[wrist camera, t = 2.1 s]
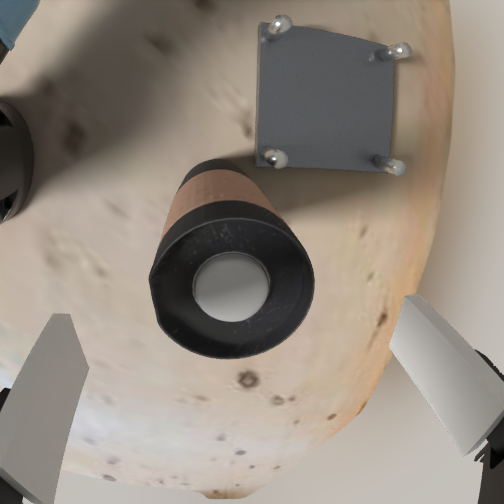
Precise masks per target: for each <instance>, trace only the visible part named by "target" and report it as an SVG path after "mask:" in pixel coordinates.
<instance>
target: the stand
mask: <svg viewBox="0 0 504 504" xmlns="http://www.w3.org/2000/svg"><path fill="white" fill-rule="evenodd" d="M411 54H412V50H411V47H410V46H409V45H408V44H407V43H400V44H396V45H392V46H385V45H382V44H378V43H375V42H371V41H367V40H364V39H360V38H355V37H351V36H347V35H342V34H338V33H333V32H328V31H323V30H317V29H311V28H305V27H298V26H292V20H291V19H290V17H288V16H287V15H278V16H276V17H275V18H274V20H273V21H272V22H271V23H262V22H261V23H260V25H259V26H258V58H257V92H256V126H255V161H254V165H256V166H257V167H274V168H277V169H281V168H283V167H300V168H323V169H340V170H354V171H367V172H379V173H388V172H389V173H392V174H394V175H397V176H402V175H404V174H405V172H406V164H405V163H404V162H403V161H400V160H397V159H393V158H390V157H389V155H390V144H391V132H392V116H393V92H394V60H396V59H401V58H406V57H410V56H411Z"/></svg>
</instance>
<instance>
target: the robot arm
mask: <svg viewBox="0 0 504 504" xmlns="http://www.w3.org/2000/svg"><path fill="white" fill-rule="evenodd" d="M39 3H40V0H0V65H1V63H2V61H3V60H4V58H5V56H6V55H7V53H8V52H9V50H10V51H11V50H12V49H13V48H14V46H15V41H16V39H17V37H18V36H19V34H20V33H21V31H22V29H23V28H24V26H25V25H26V23H27V22H28V20H29V19H30V18H31V16H32V15H33V13H34V12H35V10H36V9H37V7H38V5H39ZM32 174H33V148H32V142H31V138H30V134H29V131H28V128H27V126H26V124H25V122H24V120H23V118H22V117H21V116H20V114H19V113H18V112H17V111H16V110H15V109H14V108H13V107H11V106H10V105H8V104H6V103H3V102H0V224H2V223H3V222H5V221H7V220H8V219H10V218H11V217H12V216H13V215H14V214H15V213H16V212H17V211H18V210H19V209H20V207H21V206H22V204H23V202H24V201H25V198H26V196H27V194H28V191H29V188H30V184H31V180H32ZM389 348H390V349H391V351H392V352H393V354H394V355H395V356H396V358H397V359H398V360H399V362H400V363H401V365H402V366H403V367H404V369H405V370H406V372H407V373H408V374H409V376H410V377H411V379H412V380H413V382H414V383H415V384H416V386H417V387H418V389H419V390H420V392H421V393H422V394H423V396H424V397H425V399H426V400H427V402H428V403H429V405H430V406H431V408H432V409H433V410H434V412H435V414H436V415H437V417H438V418H439V420H440V421H441V423H442V424H443V426H444V427H445V429H446V430H447V432H448V433H449V435H450V436H451V438H452V439H453V441H454V443H455V444H456V446H457V447H458V449H459V450H460V452H461V454H462V455H463V456H465V455H467V454H469V453H471V452H472V451H474V450H475V449H477V448H478V447H479V446H480V445H481V444H482V442H483V441H484V440H485V439H487V441H488V443H487V444H486V445H485V447H484V448H483V449H482V450H481V451H480V452H479V453H478V454H477V455H476V457H475V460H474V461H477V460H478V459H479V458H480V457H481V456H482V455H483V454H484V456H483V457H482V458H481V460H480V462H483V472H482V480H481V488H480V494H479V499H478V504H504V375H503V374H502V373H500V372H499V370H498V369H497V368H496V366H493V363H492V362H491V361H490V360H489V359H488V358H487V357H486V356H485V355H484V354H482V353H480V352H479V351H477V350H474V349H473V348H472V347H471V346H470V345H469V344H468V343H467V341H465V340H464V338H463V337H462V336H461V335H460V334H459V333H458V332H457V331H456V330H455V329H454V328H453V327H452V326H450V324H449V323H448V322H447V321H446V320H445V319H444V318H443V317H442V316H441V315H440V314H439V313H438V312H437V311H436V310H435V309H434V308H433V307H431V305H429V304H428V303H427V302H426V301H425V300H424V299H423V298H422V297H421V296H420V295H419V294H415V295H407V296H405V297H404V301H403V304H402V308H401V311H400V314H399V317H398V320H397V323H396V327H395V330H394V333H393V335H392V338H391V341H390V344H389ZM88 370H89V366H88V364H87V361H86V359H85V356H84V354H83V351H82V348H81V346H80V343H79V340H78V337H77V334H76V331H75V328H74V325H73V322H72V319H71V316H70V314H53V315H52V316H51V318H50V320H49V321H48V323H47V324H46V326H45V328H44V329H43V331H42V333H41V335H40V336H39V338H38V340H37V341H36V343H35V345H34V347H33V348H32V350H31V352H30V354H29V356H28V357H27V359H26V361H25V363H24V365H23V367H22V369H21V371H20V372H19V374H18V376H17V378H16V380H15V382H14V384H13V386H12V388H11V389H9V388H4V389H3V390H2V391H1V392H0V504H23V503H22V499H23V496H24V497H25V498H26V499H28V500H29V501H30V502H32V503H33V504H54V499H55V493H56V488H57V483H58V478H59V473H60V469H61V464H62V460H63V456H64V451H65V447H66V443H67V440H68V436H69V432H70V428H71V425H72V421H73V418H74V414H75V411H76V407H77V404H78V401H79V398H80V394H81V391H82V388H83V385H84V382H85V379H86V376H87V373H88Z"/></svg>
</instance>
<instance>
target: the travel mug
mask: <svg viewBox="0 0 504 504" xmlns="http://www.w3.org/2000/svg"><path fill="white" fill-rule="evenodd" d="M314 283H315V279H314V272H313V268H312V265H311V261H310V259H309V257H308V255H307V252H306V250H305V249H304V247H303V246H302V244H301V243H300V241H299V240H298V239H297V237H296V236H295V235H294V233H293V232H292V231H291V229H290V228H289V226H288V225H287V224H286V223H285V221H284V220H283V219H282V217H281V216H280V215H279V213H278V212H277V211H276V209H275V208H274V207H273V205H272V204H271V203H270V201H269V200H268V199H267V197H266V196H265V195H264V194H263V192H262V191H261V190H260V188H259V187H258V186H257V185H256V184H255V183H254V182H253V181H252V180H251V179H250V178H249V177H248V176H247V175H246V174H245V173H244V172H243V171H241V170H240V169H239V168H238V167H236V166H235V165H233V164H232V163H229V162H227V161H223V160H209V161H205V162H202V163H200V164H198V165H197V166H195V167H194V168H193V169H191V170H190V171H189V173H188V174H187V175H186V177H185V178H184V180H183V182H182V184H181V186H180V187H179V189H178V191H177V193H176V195H175V197H174V199H173V202H172V205H171V208H170V211H169V214H168V217H167V220H166V223H165V226H164V230H163V233H162V236H161V240H160V243H159V246H158V250H157V253H156V257H155V260H154V263H153V266H152V268H151V271H150V275H149V284H150V290H151V296H152V300H153V304H154V308H155V312H156V317H157V322H158V324H159V326H160V328H161V329H162V330H163V331H164V333H165V334H166V335H167V336H168V337H170V338H171V339H172V340H173V341H174V342H176V343H177V344H179V345H180V346H182V347H183V348H185V349H187V350H189V351H191V352H193V353H196V354H198V355H202V356H205V357H209V358H216V359H240V358H246V357H251V356H254V355H258V354H260V353H263V352H266V351H268V350H270V349H272V348H274V347H276V346H277V345H279V344H280V343H282V342H283V341H284V340H286V339H287V338H288V337H289V336H290V335H292V334H293V333H294V332H295V331H296V329H297V328H298V327H299V326H300V324H301V323H302V322H303V320H304V318H305V317H306V315H307V313H308V311H309V309H310V306H311V303H312V300H313V294H314Z"/></svg>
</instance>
